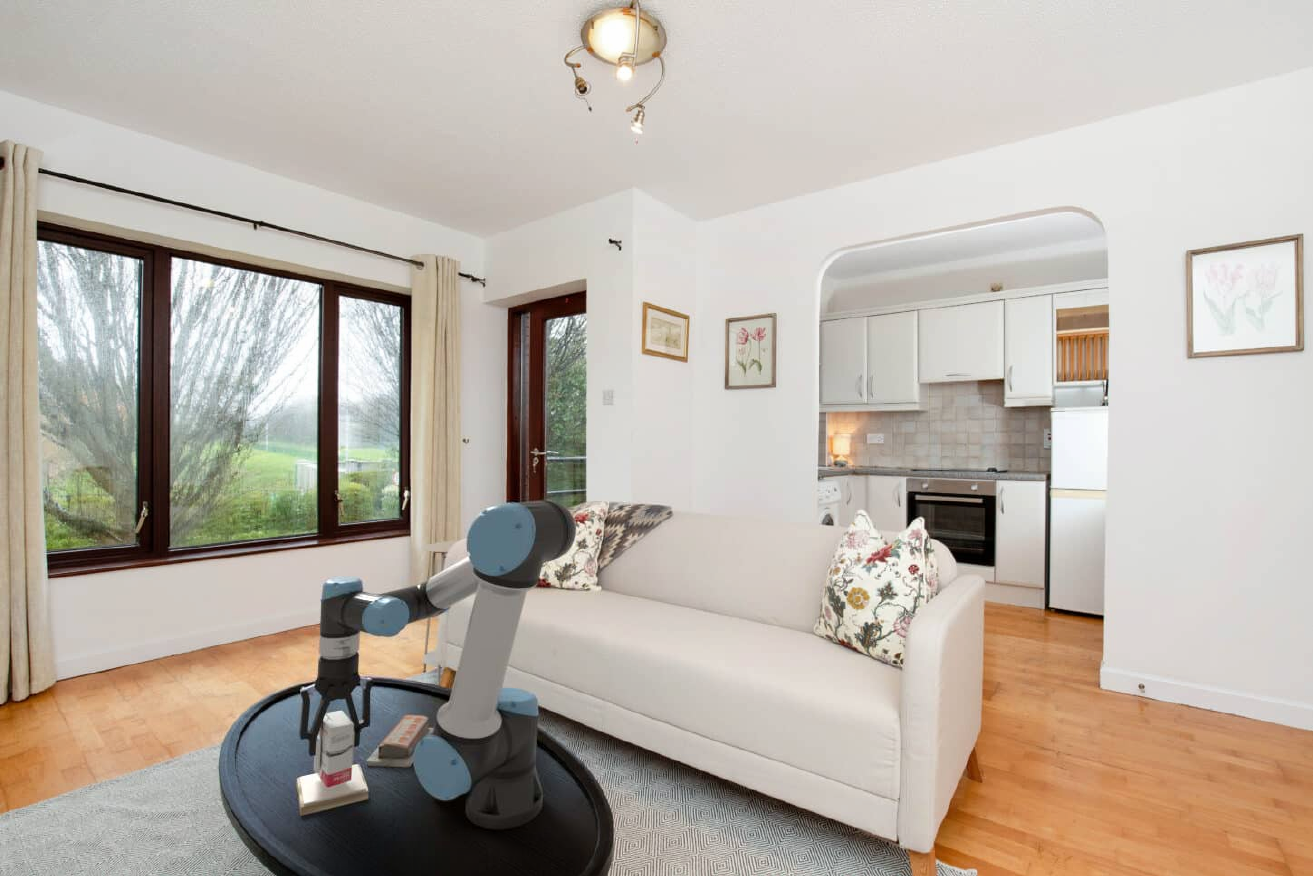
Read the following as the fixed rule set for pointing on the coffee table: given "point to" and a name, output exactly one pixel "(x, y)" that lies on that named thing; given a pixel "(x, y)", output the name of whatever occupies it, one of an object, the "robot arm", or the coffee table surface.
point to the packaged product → (401, 742)
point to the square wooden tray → (330, 792)
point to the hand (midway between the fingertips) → (333, 765)
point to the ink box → (336, 749)
